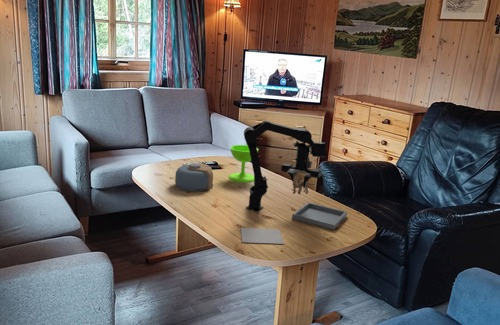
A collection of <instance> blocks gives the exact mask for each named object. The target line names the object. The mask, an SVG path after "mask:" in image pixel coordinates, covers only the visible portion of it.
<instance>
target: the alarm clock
mask: <svg viewBox="0 0 500 325" xmlns="http://www.w3.org/2000/svg"><path fill="white" fill-rule="evenodd" d="M212 170H213V169H212V167H211V166H209V165H208V164H205V163H201V162H200V163H190V164H185V165H181V166H179V167H178V168H177V170H176V171H175V180H174V182H175V185H176V186H177V188H178V189H179V188H180V189H179V190H181V189H182V191H185V190H186V191H185V192H192V191H197V192H203V190H204V191H208V190H209V191H211V190H212V189H213V188H214V183H213V182H214V181H213V180H214V173H213V171H212ZM210 189H211V190H210Z"/></svg>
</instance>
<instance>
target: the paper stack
mask: <svg viewBox="0 0 500 325" xmlns="http://www.w3.org/2000/svg"><path fill="white" fill-rule="evenodd" d="M248 225H249V226H251V224H248ZM240 233H241V240H242V243H252V244H253V243H256V244H279V245H280V244H281V245H285V244H284V239H283V236H282V233H281V231H280V228H279V229H278V228H277V229H276V228H256V227H255V228H253V227H252V228H251V227H240Z"/></svg>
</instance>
